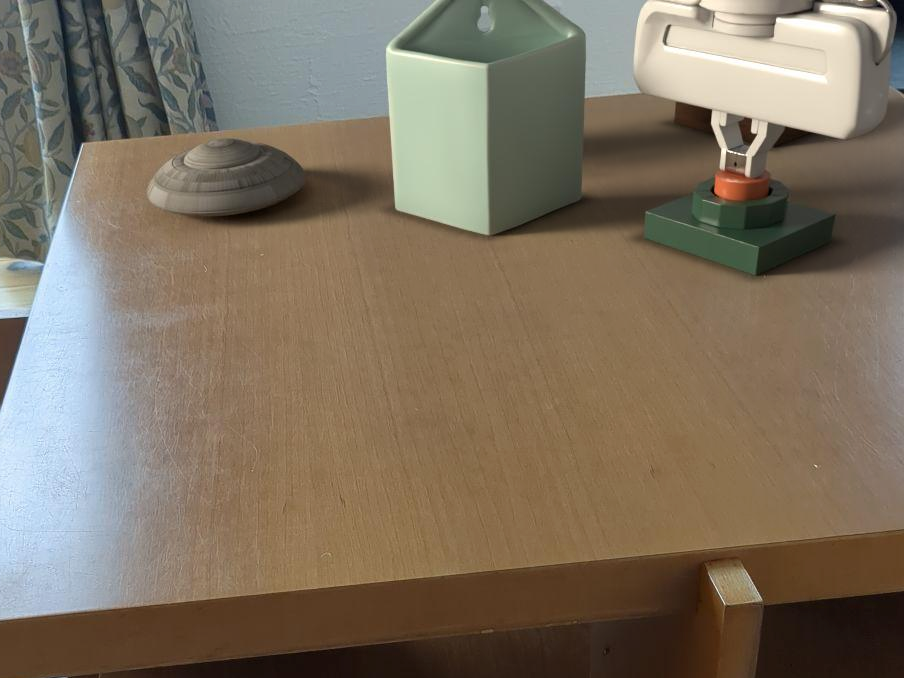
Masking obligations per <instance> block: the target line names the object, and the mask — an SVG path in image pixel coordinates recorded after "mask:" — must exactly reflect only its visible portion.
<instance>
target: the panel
mask: <svg viewBox="0 0 904 678" xmlns="http://www.w3.org/2000/svg"><path fill="white" fill-rule="evenodd" d="M711 119H712V109H708V108H703V107H699V106H695V105H690V104H686V103H681V102H677V101H675V108H674V121H673V123H674V124H675V125H679V126H683V127H688V128H692V129H695V130H700V131H704V132H709V133H713V134H715V133H714V130H713V127H712V125H711ZM738 124H739V128H740V132H741V136H742V139H743V141H746V142H749V143H753V141H754V140H755V138H756V136H757V134H758V133H757V134H754V133H752V132H751V127H752V119H751V118H747V117H744V119H743V120H741V121H738ZM811 133H812V132H808V131H804V130H799V129H795V128H791V127H786V126H785V130H784V131H783V133H782V134H781V135H780V137H779V138H778V140H777V141H776V142H775V144H774V145H773V146H772V148H774V147H777V146H779V145H782V144H785V143H788V142H790V141H794V140H795V139H798V138H800V137H803V136H806V135H809V134H811Z"/></svg>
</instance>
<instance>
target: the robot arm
mask: <svg viewBox="0 0 904 678" xmlns="http://www.w3.org/2000/svg"><path fill="white" fill-rule="evenodd" d="M879 5H880V6H881V7H878V6H879ZM639 11H640V12H639V15H638V18H637V24H636V31H635V39H634V49H633V50H634V51H633V66H632V67H633V69H632V71H633V79H634V82H635V84H636V86H637V88H638V90H639V91H640V93H641V94H642V95H647V96H651V97H655V98H659V99H664V100H669V101H673V102H676V101H677V102H681V103H686V104H690V105H695V106H699V107H703V108H708V109H712V119H711V125H712V127H713V130H714V133H713V134H714V136H715V138H716V141H717V143H718V146H719V148H720V149H721V150H720V160H719V170H722V171H725V172H729V173H733V174H737V175H740V176H744V177H747V178H751V179H754V178H756V177H759V176H761V175H763V173H764V171H765V170H766V168H767V167H766V166H767V159H768V153H769V151H771V149H772V148H773V147H772V146H773V145H774V144H775V142H776V141H777V140H778V138H779V137H780V135H781V134H782V133H783V131H784V130H785V126H786V127H791V128H795V129H799V130H804V131H808V132H811V133H812V134H817V135H821V136H827V137H831V138H835V139H839V140H846V141H847V140H850V139H854V138H857V137H860V136H862V135H865V134H867V133H869V132H871V131H873V130H874V129H875V128H876V127H878V125H879V124H880V123H882V121H883V120H884V118H885V116H886V114H887V109H888V101H889V93H890V81H891V64H892V48H893V44H894V38H895V34H896V28H897V19H898V18H897V17H898V16H897V12H896V11H895V10H894V8H893V6H892V4H891V3H890V1H888V0H646V1H645V3H644V4H643V5H642V6H641V9H640V10H639ZM744 117H747V118H751V119H752V127H751V132H752V133H754V134H757V133H758V134H757V136H756V138H755V140H754V141H753V142H751V144H750V146H749V145H746V144H744V140H743V139H742V136H741V132H740V128H739V124H738V121H741V120H743V119H744Z"/></svg>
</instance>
